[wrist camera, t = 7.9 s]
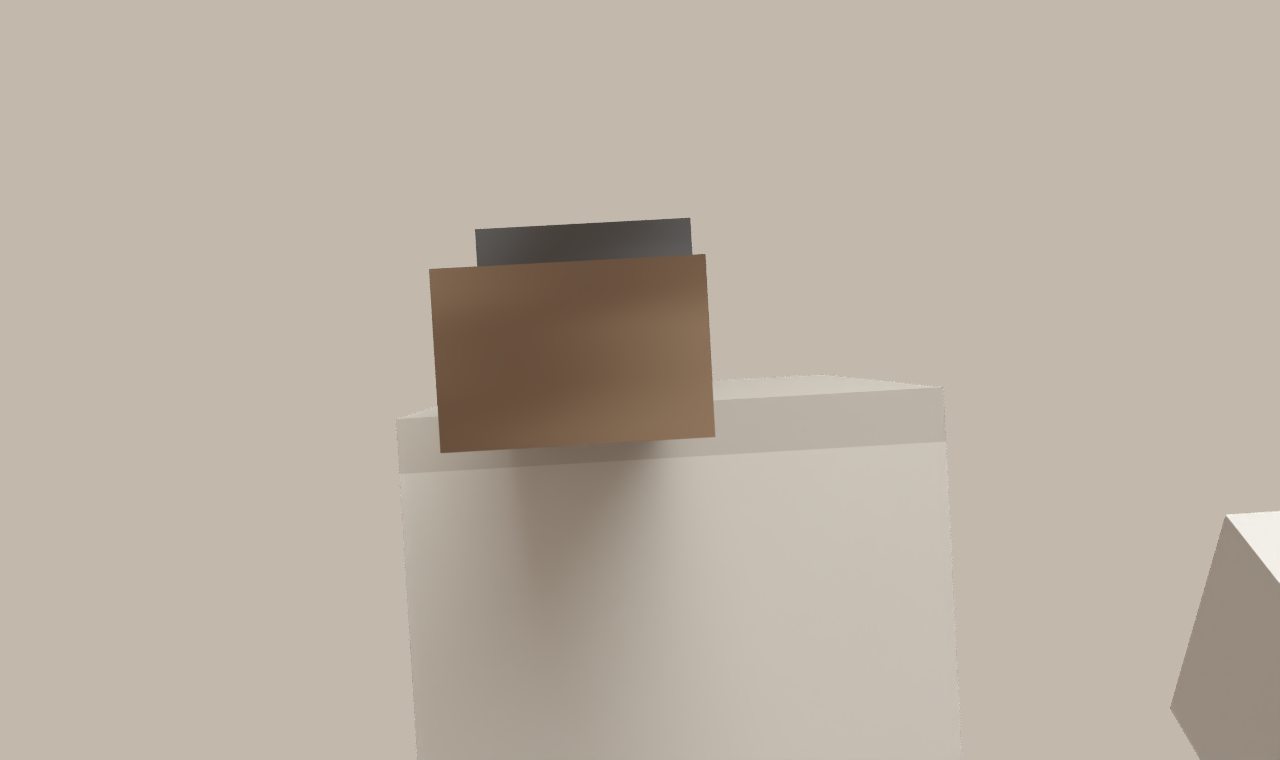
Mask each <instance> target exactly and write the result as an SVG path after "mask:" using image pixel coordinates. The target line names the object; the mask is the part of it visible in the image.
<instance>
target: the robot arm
mask: <svg viewBox="0 0 1280 760" xmlns="http://www.w3.org/2000/svg"><path fill="white" fill-rule="evenodd" d="M1170 709H1171V710H1172V712H1173V714H1174V716H1175V717H1176V719H1177V721H1178V723H1179V724H1180V726H1181V728H1182V729H1183V731H1184V733H1185V734H1186V736H1187V738H1188V739H1189V741H1190V743H1191V745H1192V746H1193V748H1194V750H1195V751H1196V753H1197V755H1198V757H1199V758H1200V760H1280V511H1276V512H1261V513H1246V514H1230V515H1226V516H1225V519H1224V522H1223V526H1222V529H1221V533H1220V536H1219V540H1218V543H1217V547H1216V551H1215V554H1214V557H1213V561H1212V565H1211V568H1210V571H1209V575H1208V578H1207V582H1206V586H1205V588H1204V593H1203V595H1202V599H1201V603H1200V606H1199V609H1198V613H1197V616H1196V620H1195V623H1194V627H1193V630H1192V634H1191V637H1190V641H1189V644H1188V648H1187V651H1186V655H1185V658H1184V661H1183V665H1182V668H1181V672H1180V675H1179V679H1178V682H1177V686H1176V689H1175V693H1174V696H1173V700H1172V703H1171V707H1170Z"/></svg>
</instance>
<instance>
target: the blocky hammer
mask: <svg viewBox="0 0 1280 760" xmlns="http://www.w3.org/2000/svg"><path fill="white" fill-rule="evenodd" d="M475 235H476V251H477V267H462V268H442V269H429V274H430V290H431V306H432V322H433V339H434V355H435V371H436V389H437V405H438V421H439V438H440V453H454V452H471V451H488V450H505V449H522V448H539V447H556V446H573V445H589V444H606V443H623V442H640V441H657V440H674V439H691V438H708V437H715V420H714V402H713V384H712V366H711V350H710V331H709V312H708V294H707V276H706V258H705V254H698V255H692V242H691V225H690V218H680V219H662V220H641V221H624V222H606V223H586V224H568V225H548V226H530V227H512V228H493V229H475Z"/></svg>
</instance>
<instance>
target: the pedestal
mask: <svg viewBox="0 0 1280 760" xmlns="http://www.w3.org/2000/svg"><path fill="white" fill-rule="evenodd" d="M712 384H713V402H714V420H715V437H708V438H691V439H674V440H657V441H640V442H623V443H606V444H589V445H573V446H556V447H539V448H522V449H505V450H488V451H471V452H454V453H440V438H439V421H438V406H435V407H432V408H429V409H426V410H422V411H419V412H417V413H413V414H410V415H407V416H404V417H401V418H398V419H396V425H397V441H398V456H399V473H400V490H401V505H402V522H403V538H404V553H405V569H406V586H407V602H408V617H409V633H410V650H411V665H412V682H413V696H414V697H413V698H414V714H415V729H416V745H417V760H962V750H961V730H960V710H959V690H958V670H957V652H956V651H957V650H956V630H955V611H954V590H953V570H952V552H951V530H950V510H949V490H948V470H947V452H946V431H945V414H944V413H945V410H944V391H943V387H937V386H928V385H918V384H908V383H899V382H890V381H880V380H871V379H861V378H851V377H842V376H833V375H822V374H820V375H803V376H786V377H769V378H752V379H736V380H735V379H734V380H717V381H712Z"/></svg>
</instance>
